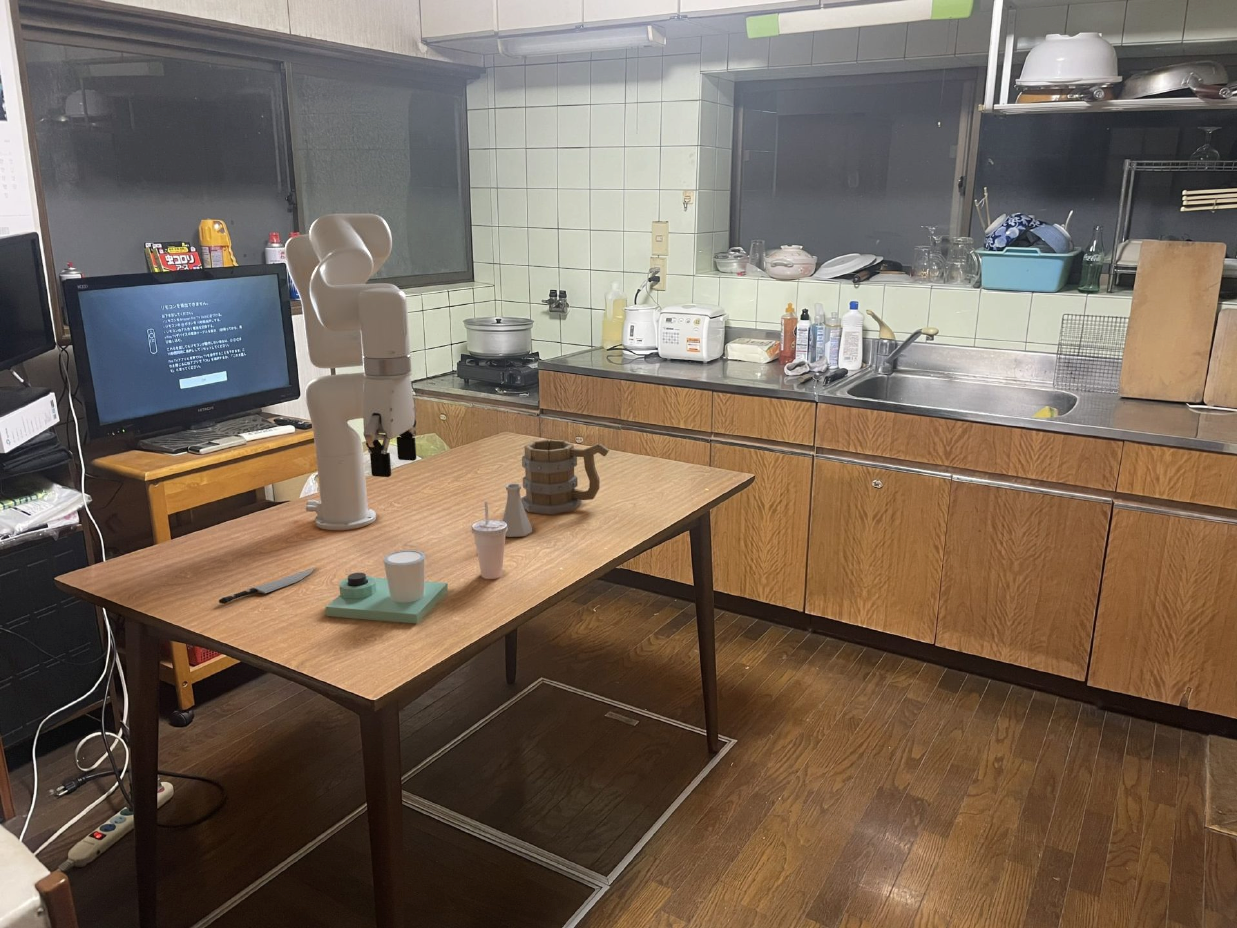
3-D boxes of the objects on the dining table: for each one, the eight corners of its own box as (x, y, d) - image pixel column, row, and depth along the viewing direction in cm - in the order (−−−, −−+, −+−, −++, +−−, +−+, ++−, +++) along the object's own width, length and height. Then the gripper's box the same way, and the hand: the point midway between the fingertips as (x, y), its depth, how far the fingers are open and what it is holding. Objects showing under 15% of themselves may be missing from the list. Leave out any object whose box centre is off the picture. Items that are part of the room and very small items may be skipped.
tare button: (345, 587, 154) (344, 578, 153) (353, 580, 156) (352, 571, 156) (361, 588, 153) (360, 579, 152) (369, 581, 156) (369, 572, 155)
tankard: (513, 511, 201) (510, 445, 197) (536, 494, 213) (534, 432, 209) (598, 520, 195) (597, 452, 191) (617, 502, 207) (616, 438, 203)
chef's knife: (323, 574, 167) (313, 569, 169) (323, 568, 167) (313, 564, 169) (227, 609, 153) (217, 604, 154) (226, 603, 152) (216, 598, 154)
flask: (527, 539, 184) (525, 491, 181) (492, 537, 185) (490, 490, 183) (537, 527, 191) (535, 481, 188) (504, 525, 192) (502, 479, 190)
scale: (323, 615, 150) (321, 596, 149) (361, 585, 162) (359, 566, 161) (417, 623, 147) (415, 603, 146) (448, 591, 159) (446, 573, 158)
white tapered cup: (387, 606, 149) (383, 566, 147) (385, 590, 156) (382, 551, 154) (429, 601, 151) (427, 561, 149) (426, 585, 157) (424, 547, 155)
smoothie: (492, 566, 170) (489, 494, 166) (516, 574, 166) (513, 501, 163) (466, 576, 165) (462, 503, 162) (490, 585, 162) (487, 510, 158)
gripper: (389, 356, 156) (396, 452, 161) (339, 375, 140) (349, 481, 145) (430, 358, 155) (436, 455, 160) (385, 377, 139) (393, 484, 143)
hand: (394, 467), depth 152 cm, fingers open, 9 cm apart
